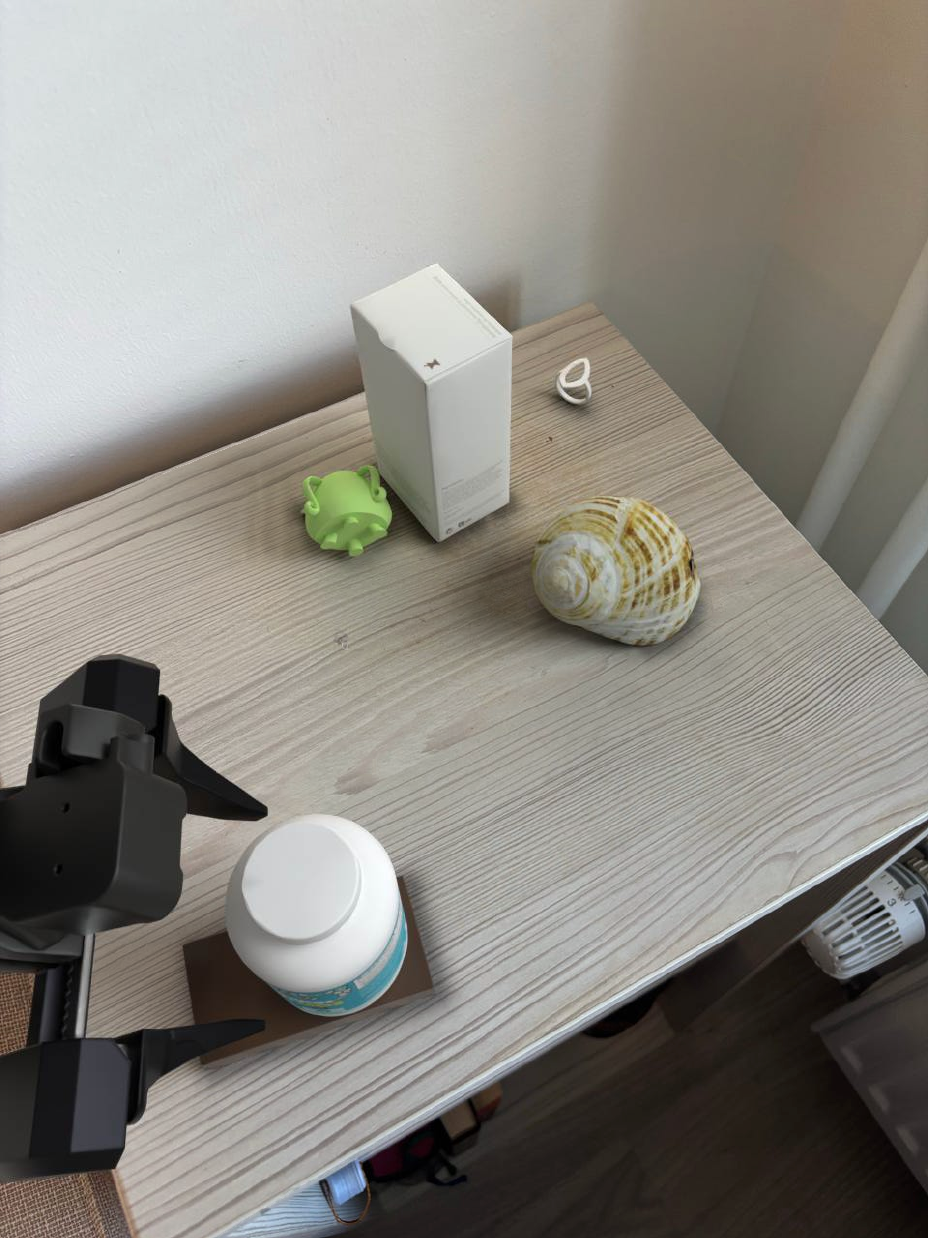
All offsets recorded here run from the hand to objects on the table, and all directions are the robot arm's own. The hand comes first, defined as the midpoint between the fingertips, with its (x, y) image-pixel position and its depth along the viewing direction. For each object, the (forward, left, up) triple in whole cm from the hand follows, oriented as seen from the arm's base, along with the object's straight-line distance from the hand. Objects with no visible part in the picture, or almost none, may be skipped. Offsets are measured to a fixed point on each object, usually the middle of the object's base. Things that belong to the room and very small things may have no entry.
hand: (262, 914), depth 41 cm
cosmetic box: (+17, +28, -11) cm, 35 cm away
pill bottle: (+2, 0, -8) cm, 9 cm away
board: (+1, -1, -10) cm, 11 cm away
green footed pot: (+10, +26, -11) cm, 30 cm away
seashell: (+25, +16, -11) cm, 31 cm away
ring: (+29, +33, -11) cm, 45 cm away
